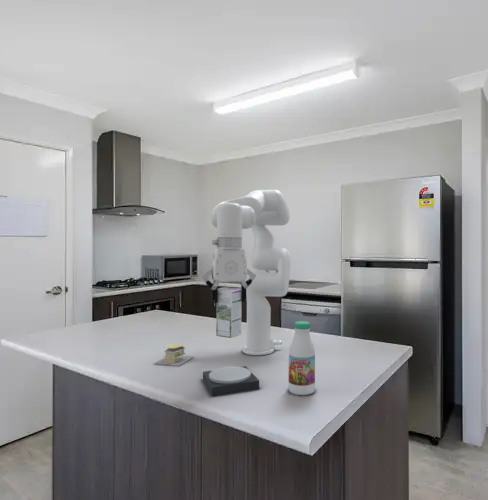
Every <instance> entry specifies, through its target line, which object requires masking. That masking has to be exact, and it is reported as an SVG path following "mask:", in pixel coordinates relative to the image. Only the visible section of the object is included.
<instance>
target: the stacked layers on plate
mask: <svg viewBox="0 0 488 500" xmlns="http://www.w3.org/2000/svg"><path fill="white" fill-rule="evenodd" d="M185 345H186V344H185V343H181V342H179V343H176V342H175V343H169V344H167V345H166V346H164V348H165V350H164V351H163V352H164V354H165V356H164V357H163V358H164V359H162V360H160V361H158V362H156V365H162V366H163V365H165V366H177V367H179V366H181V365H183V364H185V363H186V362H188V361H189V360H191V359H192V358H193V357H192V356H185V355H186V352H185V350H186V347H185Z"/></svg>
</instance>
